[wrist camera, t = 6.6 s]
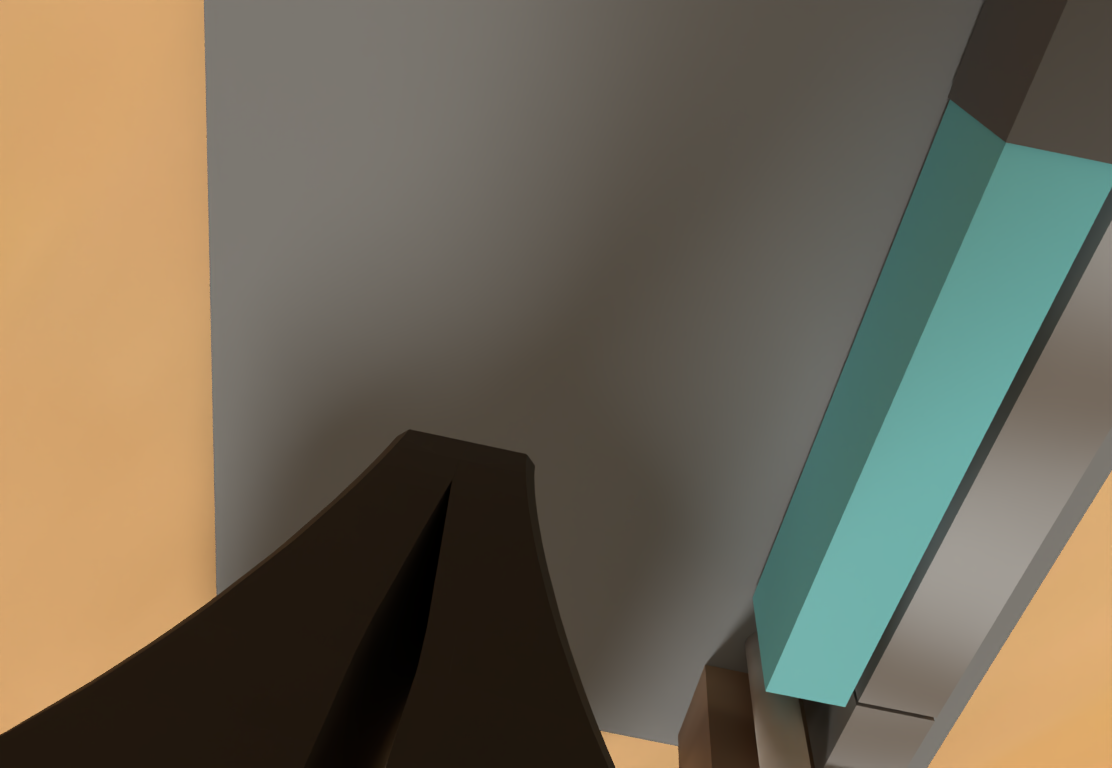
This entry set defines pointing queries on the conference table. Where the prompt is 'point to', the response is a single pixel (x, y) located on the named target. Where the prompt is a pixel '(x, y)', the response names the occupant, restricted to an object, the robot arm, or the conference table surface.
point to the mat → (570, 282)
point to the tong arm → (941, 334)
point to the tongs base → (944, 560)
